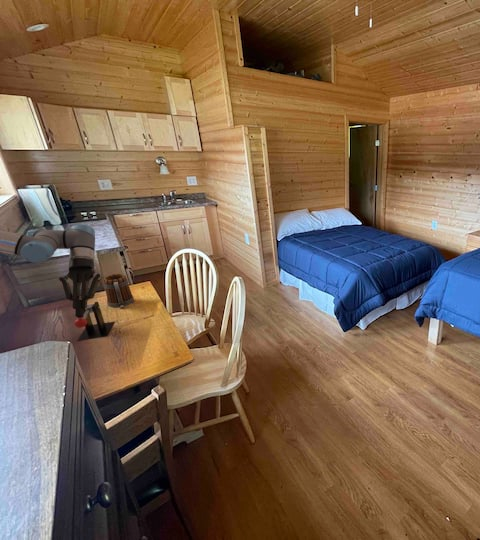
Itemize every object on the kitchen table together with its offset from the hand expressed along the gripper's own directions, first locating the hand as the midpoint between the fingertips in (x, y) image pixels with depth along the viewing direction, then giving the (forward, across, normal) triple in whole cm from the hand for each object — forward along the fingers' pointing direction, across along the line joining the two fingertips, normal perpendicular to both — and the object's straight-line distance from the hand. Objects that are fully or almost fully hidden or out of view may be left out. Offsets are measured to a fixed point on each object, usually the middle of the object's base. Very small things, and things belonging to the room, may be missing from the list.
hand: (79, 316), depth 114 cm
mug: (-13, -4, -34) cm, 37 cm away
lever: (-1, 0, -6) cm, 6 cm away
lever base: (+3, 0, -18) cm, 18 cm away
